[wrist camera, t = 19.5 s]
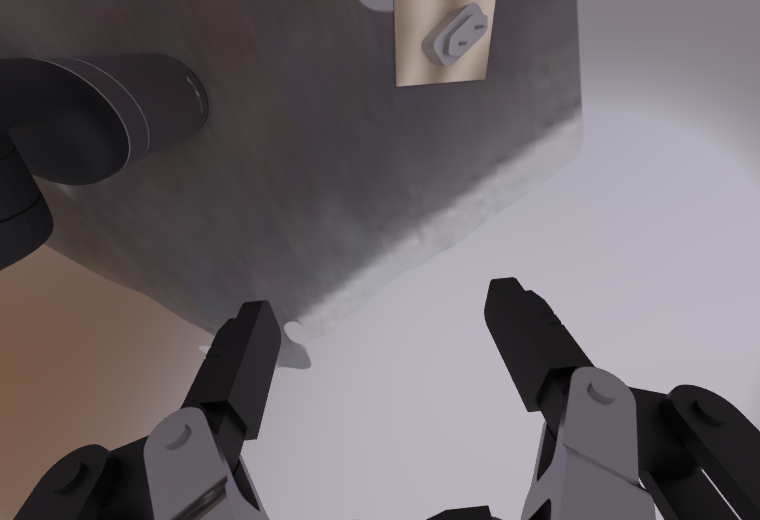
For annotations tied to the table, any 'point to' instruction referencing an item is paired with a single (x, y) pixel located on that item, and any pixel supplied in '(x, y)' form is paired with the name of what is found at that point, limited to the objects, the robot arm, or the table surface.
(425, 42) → the power adapter
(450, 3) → the birch board
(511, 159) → the table surface
